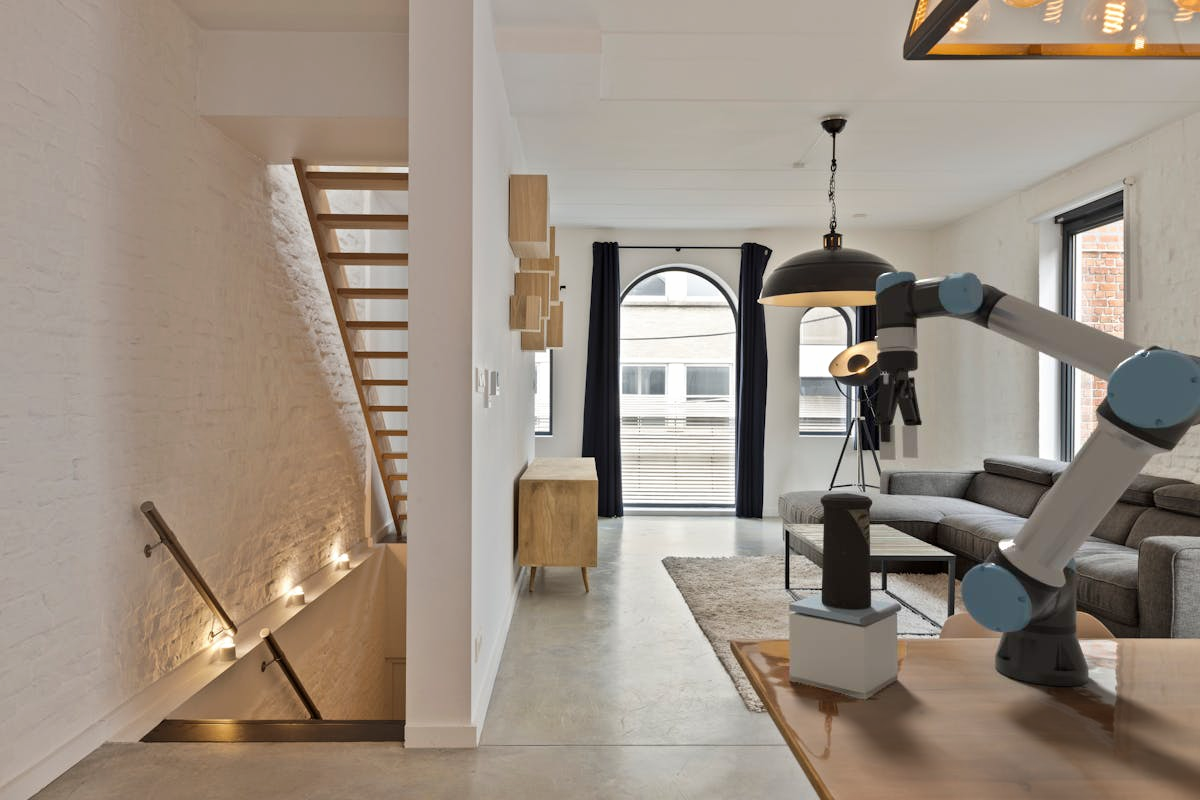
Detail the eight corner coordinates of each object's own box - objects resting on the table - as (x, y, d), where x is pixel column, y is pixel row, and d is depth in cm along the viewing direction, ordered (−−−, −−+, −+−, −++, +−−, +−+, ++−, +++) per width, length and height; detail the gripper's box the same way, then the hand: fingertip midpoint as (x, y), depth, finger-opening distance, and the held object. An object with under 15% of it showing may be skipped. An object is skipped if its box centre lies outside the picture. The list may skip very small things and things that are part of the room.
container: (875, 611, 134) (875, 496, 135) (821, 608, 136) (822, 494, 137) (868, 600, 143) (868, 491, 143) (817, 597, 145) (818, 490, 145)
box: (897, 679, 140) (897, 613, 140) (864, 699, 130) (864, 627, 130) (825, 663, 149) (825, 600, 150) (789, 680, 139) (789, 613, 139)
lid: (788, 611, 139) (788, 603, 139) (825, 598, 150) (825, 591, 150) (867, 626, 129) (867, 618, 129) (901, 611, 140) (901, 604, 140)
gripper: (898, 357, 165) (900, 456, 164) (854, 347, 146) (857, 460, 145) (935, 354, 161) (937, 457, 160) (895, 344, 141) (897, 460, 140)
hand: (899, 458), depth 152 cm, fingers open, 13 cm apart
